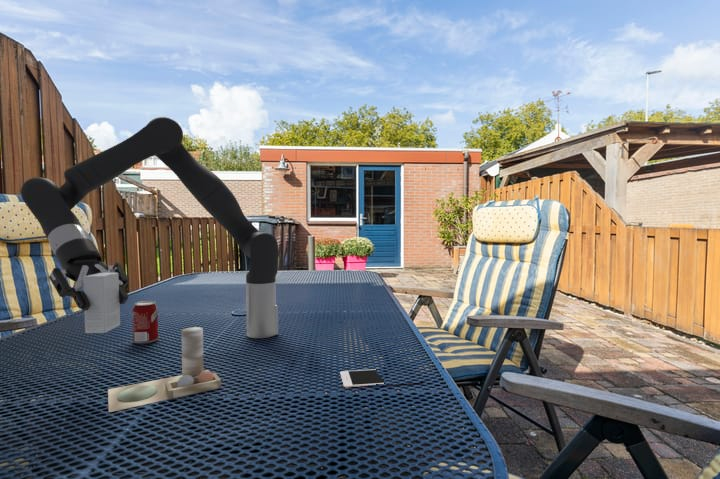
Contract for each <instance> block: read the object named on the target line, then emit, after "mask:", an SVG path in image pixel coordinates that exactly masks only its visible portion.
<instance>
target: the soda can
mask: <svg viewBox="0 0 720 479" xmlns="http://www.w3.org/2000/svg"><path fill="white" fill-rule="evenodd" d="M131 312H132V342H133V343H135V344H137V345H148V344H151V343H154V342H156V341H158V339H159V307H158V306H157V304H156V301H155V300H145V301H144V300H143V301H138V302H135V303H134V307H133V308H132V310H131Z"/></svg>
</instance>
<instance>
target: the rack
mask: <svg viewBox="0 0 720 479" xmlns="http://www.w3.org/2000/svg"><path fill="white" fill-rule="evenodd" d="M180 333H181V370H182V371H181V375H175V376H168V377H165V378H160V379H154V380H150V381H145V382H138V383H134V384H128V385H124V386H118V387H114V388H108V389H107V394H108V395H107V397H108V398H107V399H108V400H107V401H108V403H107V404H108V405H107V406H108V413H114V412H117V411H118V412H119V411H123V410H127V409H131V408H135V407H136V408H137V407H141V406H145V405H149V404H153V403H158V402H162V401H167V400H168V401H169V400H172V399H173V400H174V399H176V398H180V397H186V396H189V395H194V394H198V393H205V392H207V391H212V390H217V389H221V388H222V379H221V378H220V377H219V376H218V374H217V373H216V372H211V373H212V374H213V376H214V380H212V381H207V382H202V383H198V376H199V375H200V373H202V372H204V371H210V370H209V369H207V370H204V329H203V327H199V326H198V327H195V326H192V327H188V328H187V327H186V328H183V329H182V330H181V332H180ZM183 375H190V376H192V377H193V379H194V384H193V385H188V386H183V387H178V386H177V382H178V379H179V378H180V377H181V376H183Z"/></svg>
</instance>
